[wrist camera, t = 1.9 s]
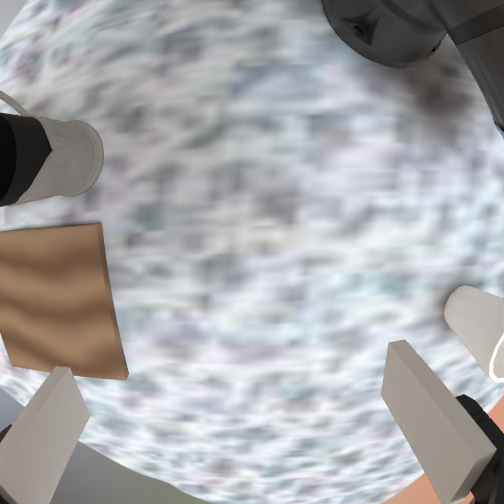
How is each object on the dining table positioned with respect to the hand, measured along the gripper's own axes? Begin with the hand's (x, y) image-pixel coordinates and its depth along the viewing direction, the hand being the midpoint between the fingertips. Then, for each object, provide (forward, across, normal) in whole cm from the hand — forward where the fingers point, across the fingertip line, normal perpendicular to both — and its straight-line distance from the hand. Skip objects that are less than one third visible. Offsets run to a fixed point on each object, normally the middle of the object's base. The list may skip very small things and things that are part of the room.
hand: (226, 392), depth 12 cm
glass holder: (+24, -19, +14) cm, 34 cm away
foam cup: (+24, +31, -12) cm, 41 cm away
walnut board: (+24, -25, -5) cm, 35 cm away
